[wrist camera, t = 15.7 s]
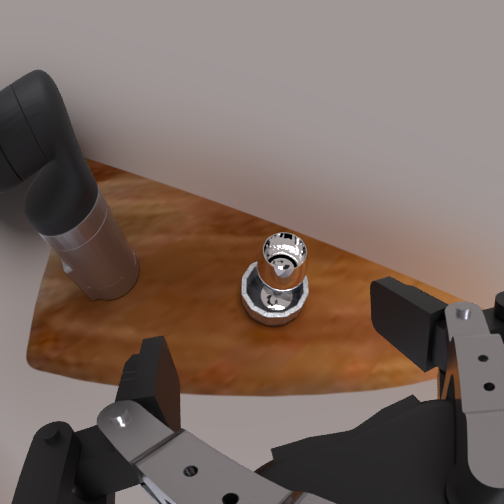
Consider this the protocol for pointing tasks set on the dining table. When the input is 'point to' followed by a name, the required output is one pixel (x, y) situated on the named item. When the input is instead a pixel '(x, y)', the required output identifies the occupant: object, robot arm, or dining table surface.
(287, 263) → the wineglass
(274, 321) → the grey bowl
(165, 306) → the dining table surface
